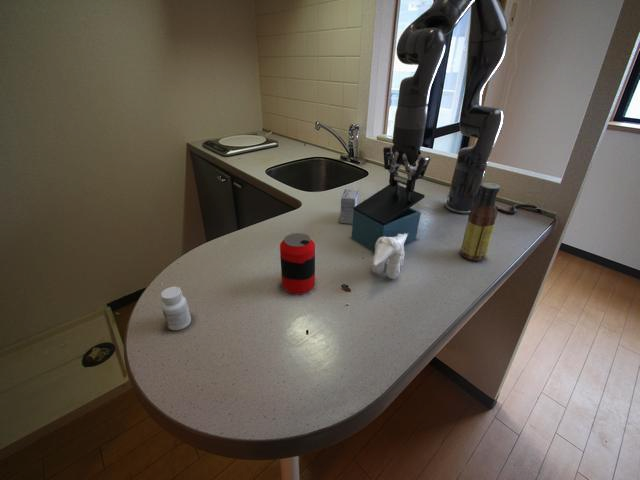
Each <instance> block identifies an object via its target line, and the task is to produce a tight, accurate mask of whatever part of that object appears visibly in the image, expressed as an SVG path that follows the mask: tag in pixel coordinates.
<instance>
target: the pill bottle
mask: <svg viewBox="0 0 640 480" xmlns="http://www.w3.org/2000/svg"><path fill="white" fill-rule="evenodd" d="M160 297H161V301H162V302H161V306H160V307H161V310H162V313H163V316H164V320H165V323H166V325H167V328H168V329H169V330H172V331H180V330H183V329H185V328H187V327H188V326H189V325H190V323H192V316H191V313H190V309H189V305H188V301H187V298H186V297H185V296H184V295H183V293H182V289H181V288H180V287H179V286H169V287H167V288H165V289H164V290H162V291H161V293H160Z"/></svg>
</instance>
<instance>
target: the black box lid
mask: <svg viewBox="0 0 640 480" xmlns="http://www.w3.org/2000/svg"><path fill="white" fill-rule="evenodd" d="M393 180H394V181H395V186H394V187H391V186H390V184H389V183H388V185H386V186H384V187H383V188H381V189H380V190H379V191H377V192H375V193H373V194H372V195H371V196H369V197H368V198H366V199H364V200H363V201H361V202H360V203H357V206H355V207H354V210H355V211H357V212H359V213H361V214H363V215H365V216H367V217H369V218H370V219H372V220H374V221H376V222H378V223H380V224H382V225H384V226H385V225H386V224H388V223H389V222H391V221H392V220H393V219H395V218H396V217H398V216H399V215H400V214H402V213H403V212H405V211H406V210H407V209H409V208H413V206H415V205H416V204H417V203H419V202H421V200H423V199H424V198H425V197H426V196H425V194H423V193H420V192H418V191H415V190H413V191H412V192H410V193H406V192H405V191H406V184H407V180H408V177H405V176H402V175H400V174H398V175H397V174H396V175H394V177H393ZM400 184H402V185H400ZM403 185H404V186H403Z"/></svg>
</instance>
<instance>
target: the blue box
mask: <svg viewBox="0 0 640 480" xmlns="http://www.w3.org/2000/svg"><path fill="white" fill-rule="evenodd" d="M421 214H422V212H421V211H419V210H417V209H414V208H413V207H410V208H409V209H407V210H406V211H405V212H403V213H402V214H400V215H399V216H398V217H396V218H395V219H393V220H392V221H391V222H389V223H388V224H386V225H385V226H384V225H382V224H380V223H378V222H376V221H374V220H372V219H370V218H369V217H367V216H365V215H363V214H361V213H359V212H357V211H355V210H354V212H353V224H352V228H351V239H353V240H355V241H356V242H357V243H360V244H361V245H363V246H364V247H366V248H367V249H369V250H371V251H373V252H374V253H375V244H376V242H377V240H378V238H380V237H395V236H397V235H398V234H404V233H406V234H408V235H407V238H406V240H405V242H404V246H405V245H406V244H409V243H411V242H413V241H416V240H417V235H418V229H419V225H420V220H421Z"/></svg>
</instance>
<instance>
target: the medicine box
mask: <svg viewBox="0 0 640 480" xmlns="http://www.w3.org/2000/svg"><path fill="white" fill-rule="evenodd" d="M358 195H359V190H357V189H353V188H351V189H350V188H345V189H344V191H343V193H342V196H341V198H340V214H339V215H340V218H339V219H340V220H339V223H341V224H349V225H353V212H354V207H355V206H357V205H358Z"/></svg>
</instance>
